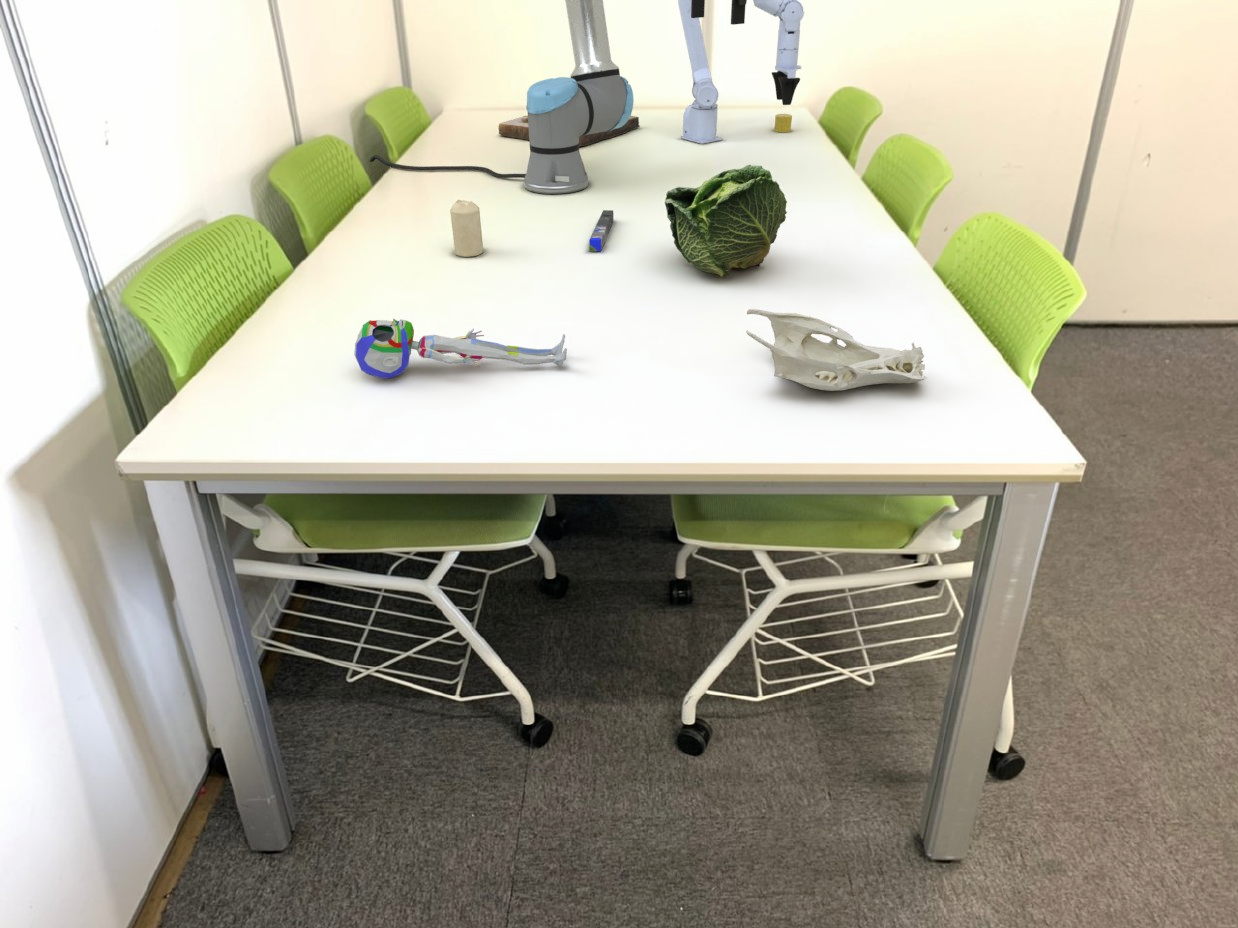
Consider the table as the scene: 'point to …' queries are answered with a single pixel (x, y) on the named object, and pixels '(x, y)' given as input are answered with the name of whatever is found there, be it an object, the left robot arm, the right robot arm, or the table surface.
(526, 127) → the plaque
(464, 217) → the candle
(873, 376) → the anatomical model
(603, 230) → the pillar
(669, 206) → the vegetable
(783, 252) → the table surface
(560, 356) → the toy
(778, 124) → the cylinder
